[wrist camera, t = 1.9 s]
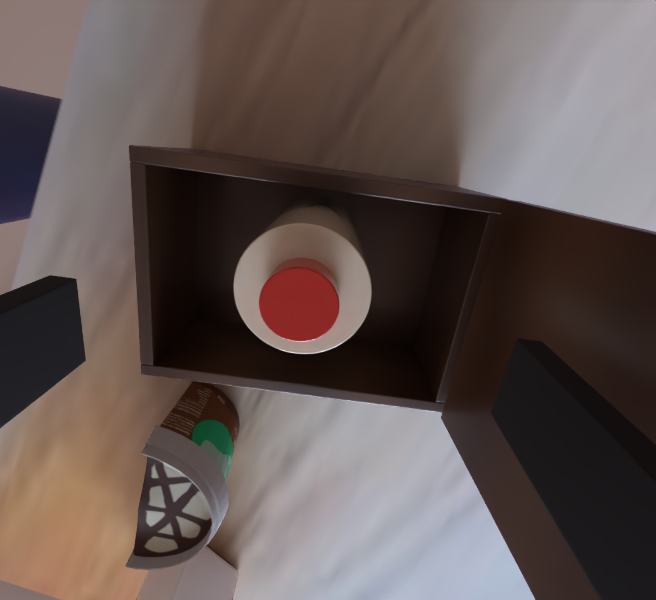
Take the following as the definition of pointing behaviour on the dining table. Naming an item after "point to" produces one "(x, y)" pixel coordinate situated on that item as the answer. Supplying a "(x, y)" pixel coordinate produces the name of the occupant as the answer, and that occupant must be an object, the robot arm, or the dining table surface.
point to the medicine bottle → (192, 580)
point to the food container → (185, 479)
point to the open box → (250, 221)
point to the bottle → (305, 278)
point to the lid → (566, 342)
